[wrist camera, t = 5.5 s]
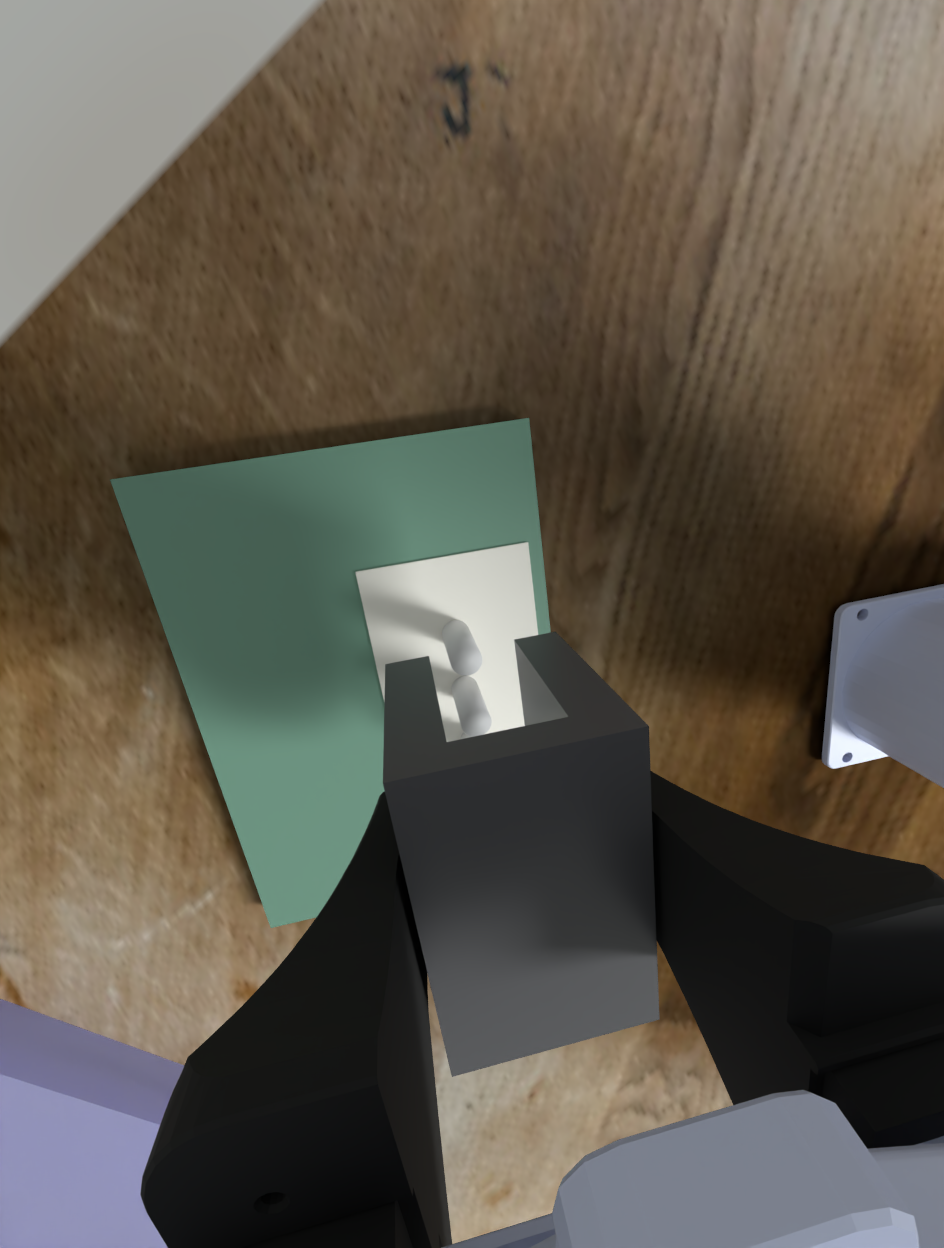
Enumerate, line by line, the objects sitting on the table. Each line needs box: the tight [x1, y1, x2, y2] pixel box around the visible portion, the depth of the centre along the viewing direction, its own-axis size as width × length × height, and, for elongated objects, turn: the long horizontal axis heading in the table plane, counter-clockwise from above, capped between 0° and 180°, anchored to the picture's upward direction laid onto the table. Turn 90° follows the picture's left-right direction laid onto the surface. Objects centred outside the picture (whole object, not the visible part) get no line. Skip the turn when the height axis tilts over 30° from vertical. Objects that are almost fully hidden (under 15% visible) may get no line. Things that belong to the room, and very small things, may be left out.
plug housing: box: [383, 632, 659, 1077], centre depth 12 cm, size 4×7×5 cm, turn 8°
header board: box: [110, 418, 551, 928], centre depth 18 cm, size 13×18×4 cm
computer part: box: [0, 999, 184, 1248], centre depth 22 cm, size 30×4×15 cm
